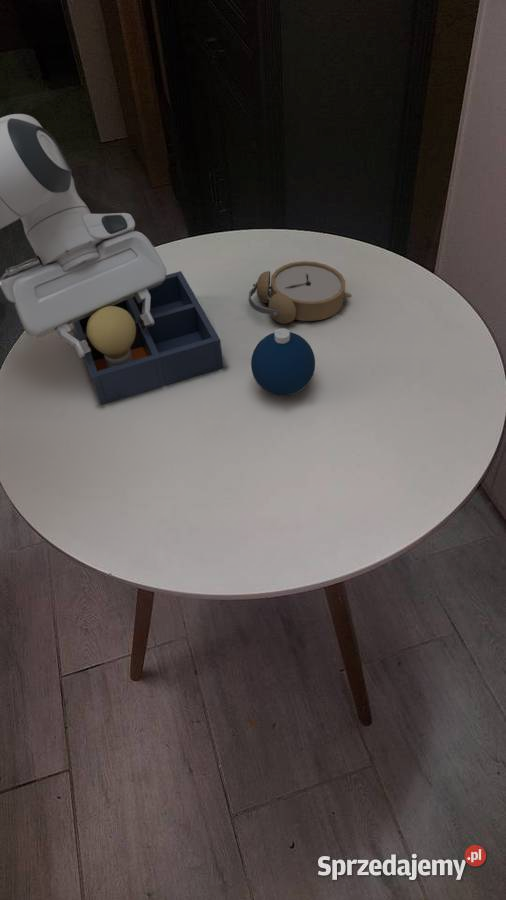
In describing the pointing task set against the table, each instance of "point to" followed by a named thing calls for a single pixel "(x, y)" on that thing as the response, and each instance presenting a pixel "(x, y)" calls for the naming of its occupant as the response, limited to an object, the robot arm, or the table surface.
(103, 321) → the light bulb
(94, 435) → the table surface
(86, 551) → the table surface
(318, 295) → the alarm clock
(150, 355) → the navy compartment tray
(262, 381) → the christmas ornament
